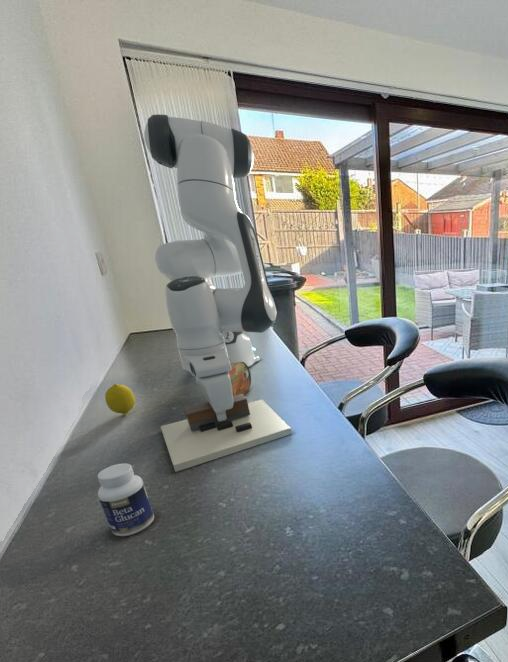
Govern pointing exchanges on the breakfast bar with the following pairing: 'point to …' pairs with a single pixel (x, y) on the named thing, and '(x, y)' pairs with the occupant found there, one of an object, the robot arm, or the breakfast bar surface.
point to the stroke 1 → (207, 427)
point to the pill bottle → (124, 500)
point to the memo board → (222, 437)
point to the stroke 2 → (224, 425)
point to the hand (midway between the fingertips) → (219, 415)
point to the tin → (240, 378)
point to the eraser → (207, 415)
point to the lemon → (119, 399)
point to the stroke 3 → (243, 427)
